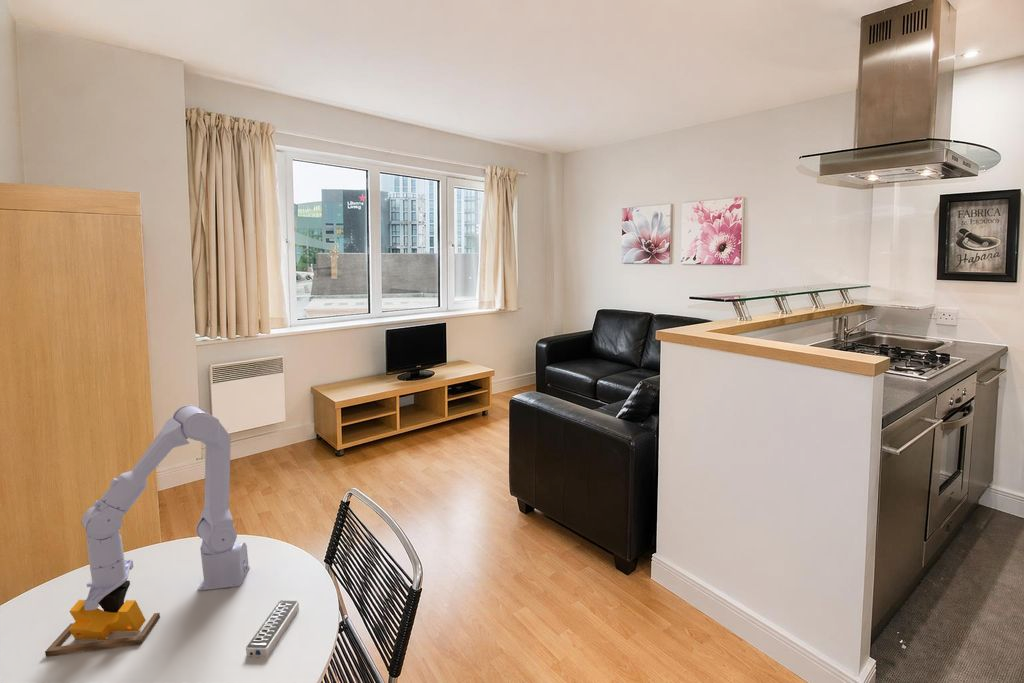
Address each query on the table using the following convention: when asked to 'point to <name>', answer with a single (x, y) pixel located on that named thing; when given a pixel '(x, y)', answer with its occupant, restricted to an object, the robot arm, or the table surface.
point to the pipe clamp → (105, 620)
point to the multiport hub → (272, 629)
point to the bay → (99, 645)
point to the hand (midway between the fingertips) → (115, 618)
